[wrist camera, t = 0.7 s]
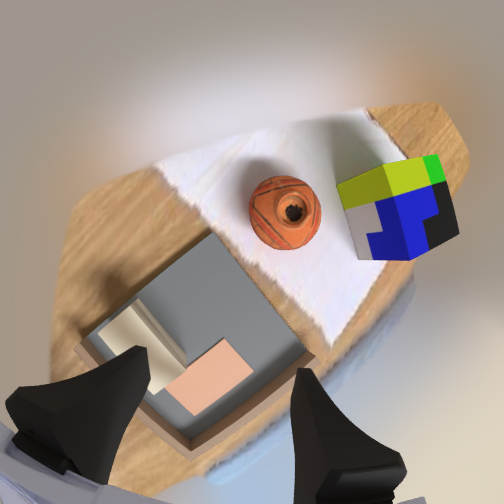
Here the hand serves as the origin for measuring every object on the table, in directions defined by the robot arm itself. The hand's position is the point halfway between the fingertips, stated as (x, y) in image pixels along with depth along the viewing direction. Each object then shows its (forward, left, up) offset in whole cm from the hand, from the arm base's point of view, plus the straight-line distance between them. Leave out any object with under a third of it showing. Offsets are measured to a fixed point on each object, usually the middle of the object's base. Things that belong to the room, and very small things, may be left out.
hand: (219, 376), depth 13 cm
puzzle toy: (+25, -5, -19) cm, 32 cm away
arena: (-4, -4, -19) cm, 20 cm away
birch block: (-7, +1, -18) cm, 20 cm away
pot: (+13, +3, -19) cm, 24 cm away
